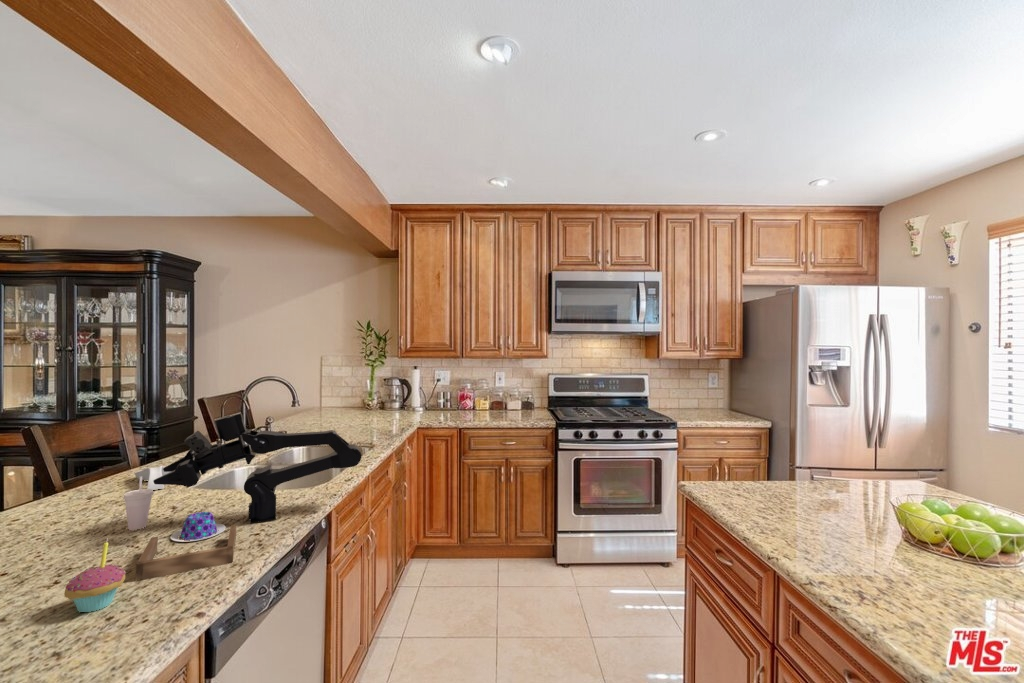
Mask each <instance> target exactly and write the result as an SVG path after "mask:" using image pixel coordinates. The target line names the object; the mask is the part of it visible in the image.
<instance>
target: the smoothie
mask: <svg viewBox="0 0 1024 683" xmlns="http://www.w3.org/2000/svg"><path fill="white" fill-rule="evenodd" d="M138 484H139V487H138V489H136V490H131V491H127V492H126V493H124V494H123V496H122V499H123V500H124V502H125V503H124V504H125V512H126V520H127V528H128V529H129V530H128V531H130V530H135V531H137V530H136V529H140V530H142V529H141V528H143V527H145V528H147V524H148V519H149V512H150V509H151V508H150V507H151V502H152V497H153V495H154V491H153V490H152V489H147V488H143V480H142V476H141V477H140V479H139V483H138ZM143 529H144V528H143Z"/></svg>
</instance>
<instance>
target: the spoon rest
mask: <svg viewBox="0 0 1024 683" xmlns="http://www.w3.org/2000/svg"><path fill="white" fill-rule="evenodd" d="M164 467H166V466H164V465H160V466H157V467H146V468H144V469H141V470H137V471H135V472H134V476H135V477H136V478H137V479H138V480H140V477H141V476H142V481H143V480H148V482H147V487H146V489H152V490H156V489H162V490H164V489H165V485H163V484H154V482H153V481H154V480H155V479H157V478H159V477H161V476H163V475H165V474H167V473H170V472H164V470H163V468H164Z"/></svg>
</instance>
